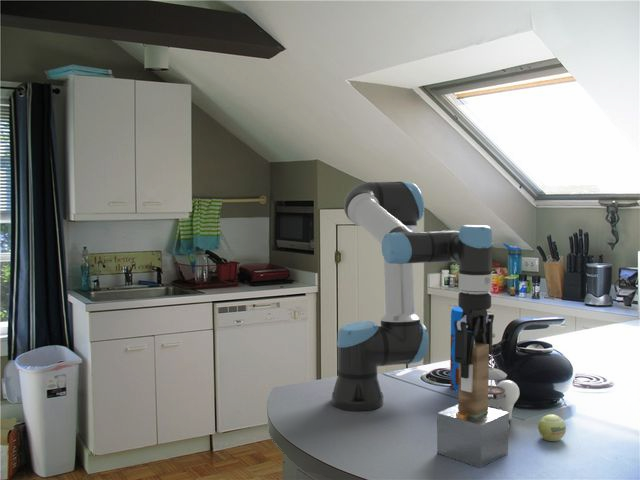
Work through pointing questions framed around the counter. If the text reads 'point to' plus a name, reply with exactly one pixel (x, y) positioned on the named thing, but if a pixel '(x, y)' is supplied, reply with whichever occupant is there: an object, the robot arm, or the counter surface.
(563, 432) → the tennis ball
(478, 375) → the post
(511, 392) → the lightbulb
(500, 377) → the french press
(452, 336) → the thermos
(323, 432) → the counter surface
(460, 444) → the silver metal block
